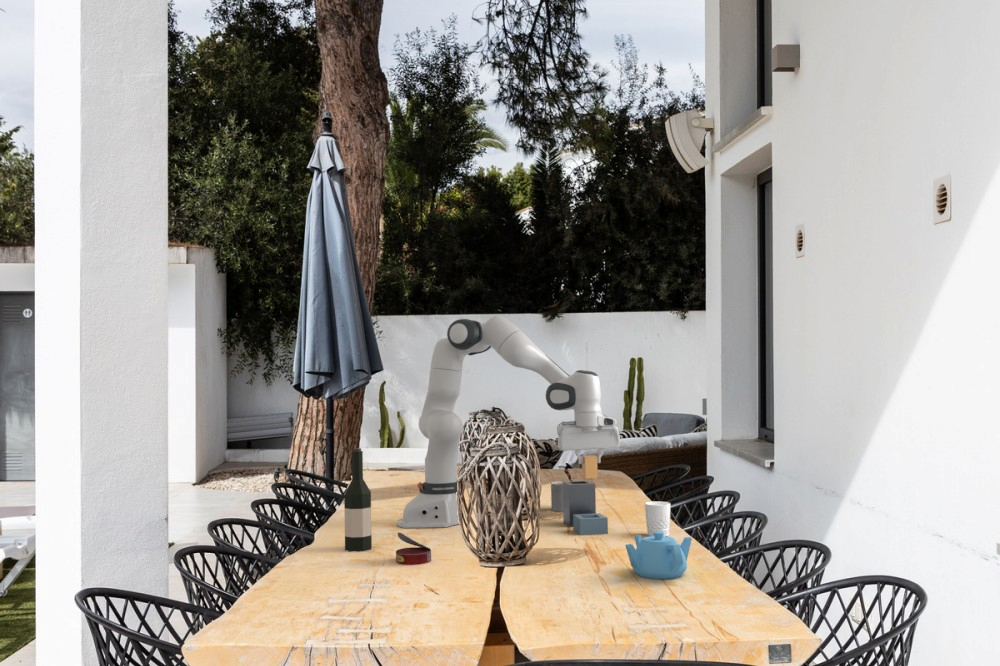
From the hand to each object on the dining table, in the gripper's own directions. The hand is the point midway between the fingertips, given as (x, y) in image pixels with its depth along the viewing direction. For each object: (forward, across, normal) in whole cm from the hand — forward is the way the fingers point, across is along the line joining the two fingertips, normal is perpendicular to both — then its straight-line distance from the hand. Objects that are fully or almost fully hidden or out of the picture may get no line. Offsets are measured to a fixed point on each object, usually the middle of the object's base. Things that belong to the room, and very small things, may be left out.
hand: (589, 463), depth 299 cm
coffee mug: (+22, +4, +44) cm, 49 cm away
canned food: (+21, -60, -29) cm, 70 cm away
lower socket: (+22, 0, 0) cm, 22 cm away
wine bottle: (+21, -75, -8) cm, 78 cm away
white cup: (+22, +18, -11) cm, 31 cm away
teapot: (+22, +1, -60) cm, 64 cm away
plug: (+5, 0, 0) cm, 5 cm away
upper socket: (+22, 0, +14) cm, 26 cm away
